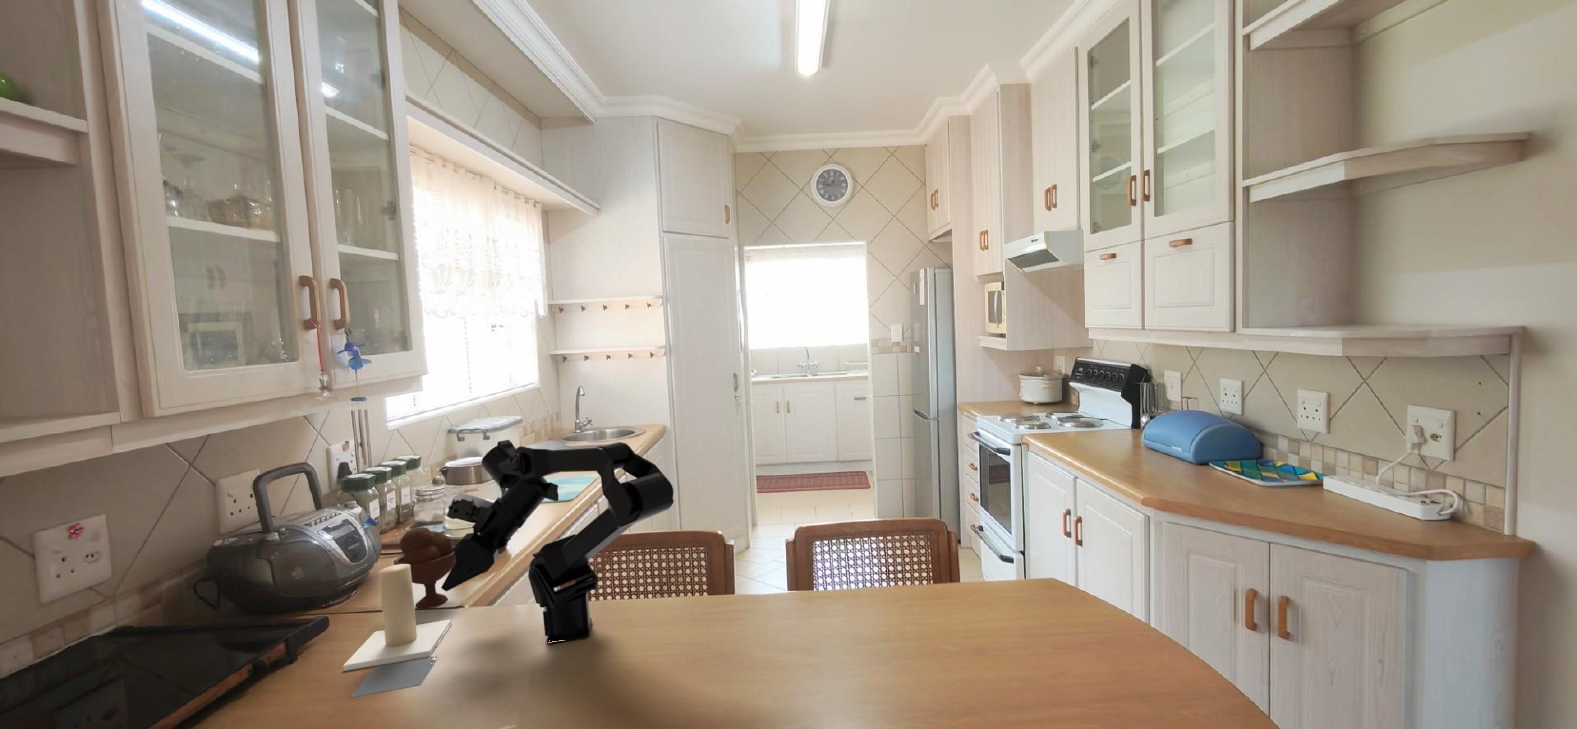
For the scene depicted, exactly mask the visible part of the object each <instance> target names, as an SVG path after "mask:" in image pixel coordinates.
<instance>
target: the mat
mask: <svg viewBox="0 0 1577 729" xmlns="http://www.w3.org/2000/svg"><path fill="white" fill-rule="evenodd" d="M435 656H436V657H435V658H437V656H438V655H435ZM429 658H430V659H429ZM432 658H434V656H428V657H422V658H416V659H411V660H405V661H399V662H393V663H387V664H381V665H376V666H374V668H373V669H372V670H371V671H370V672H369V674H367V676H366V677H365V679H363V681H361V683H360V684H359V685H358V686H357V688H356V689H355V691H354V692H353V693H352V694H351V695H350V696H349V699H351V698H352V699H353V698H356V697H363V696H368V695H373V694H374V695H375V694H380V693H385V692H386V693H387V692H391V691H397V690H401V689H407V688H413V687H418V686H419V687H420V686H421V685H422V684H423V682H424V681H425V679H426V677H427V676H428V674H429V673H430V672H431V670H432V669H433V667H434V665H435V664H433V663H436V662H437V661H436V660H433V659H432ZM431 663H432V664H431Z"/></svg>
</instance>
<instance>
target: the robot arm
mask: <svg viewBox="0 0 1577 729" xmlns="http://www.w3.org/2000/svg"><path fill="white" fill-rule="evenodd" d="M481 466H482V468H483V469H484V471H486V472H487V474H488V475H489V476H490V477H491V478H492V479H493V480H494V482H495V483H496V484H497V485H498V486H499V488H500V489H505V490H506V491H505V492H504V493H503V494H502V495H501V496H500V497H497V498H496V499H495V501H494V502H493V501H489V500H487V499H484V498H481V497H478V496H473V495H471V494H467V493H463V492H458V493H457V494H456V495H455V496H454V497H453V498H452V501H451V503H450V505H448V508H447V509H448V511H447V514H446V517H447V518H449V519H452V520H455V519H457V520H461V521H464V522H467V523H471V524H473V525H472V526H471V528H472V529H473V530H472V531H473V532H469V533H466V534H465V535H464V536H463V537H462V539H461V540H460V541H459V542H458V543H457V544H456V545H454V546H455V547H454V549H453V553H454V555H455V558H456V562H455V564H454V566H453V568H452V569H451V570H450V571H449V572H448V575H447V576H446V577H445V578H446V579H445V580H444V582H443V583H442V585H441V590H443V591H444V592H449V591H450V590H452V589H455V588H456V587H458V586H460V585H462V584H464V583H465V582H468V581H470V580H471V579H474V578H476V577H478V576H480V575H482V574H484V573H487V572H488V571H489V570H490V569H491V568H492V567H493V566H494V565H495V562H496V561H497V560H498V559H499V556H500V555H499V550H500V549H503V548H505V546H506V545H507V544H508V542H509V541H510V539H511V538H512V537H513V536H514V534H516V532H517V531H518V530H519V529H521V528H522V527H523V525H524V524H525V523H526V521H527V520H528V519H529V517H530V516H532V514H533V513H534V512H535V510H536V509H537V508H538V507H539V506H540V505H541V503H542V502H543V501H544V500H545V499H546V500H550V501H553V502H558V501H559V493H558V492H559V491H558V489H559V485H558V484H556V483H553V482H549V481H548V480H547V479H546V478H545V477H547V476H550V475H555V474H558V473H569V472H570V473H572V472H573V473H576V472H581V473H582V472H596V473H597V475H598V476H600V481H601V482H600V483H601V490H602V494H603V496H604V498H606V500H607V508H606V509H605V510H604V511H602V512H601V513H599V515H598V516H597V517H595V518H594V519H593V520H592V521H590V523H588V524H586V526H585V527H583V529H581V530H580V531H579V532H577V533H574V534H570V535H568V536H565V537H562V538H560V539H557V540H554V541H551V542H548V543H546V544H544V545H543V546H541V548H540V549H539V551H537V552H535V553H532V557H533V558H532V560H531V561H530V563H529V569H528V575H527V577H528V580H529V584H530V587H531V590H532V594H533V596H534V597H533V598H534V600H535V603H536V604H538V605H539V608H543V610H542V618H543V628H544V629H543V630H544V636H545V637H547V639H546V643H547V642H552V641H559V640H568V641H573V640H572V639H574V640H578V639H585V638H589V637H590V636H591V629H592V623H593V620H592V619H593V618H592V617H591V616H590V615H591V613H590V604H589V603H590V602H589V592H591V591H592V590H593V591H594V590H595V589H596V590H597V588H598V581H599V578H598V576H597V574H596V573H595V571H594V570H593V568H592V567H591V565H590V560H591V559H592V558H593V557H594V556H595V555H597V554H598V553H599V552H601V551H602V550H603V549H604V548H606V547H607V546H608V545H610V543H611V542H614V540H616V538H618V537H620V536H621V535H622V534H623V533H624V532H626V531H627V530H628V529H630V528H631V527H632V526H634V525H635V524H637V523H639V522H641V521H644V520H647V519H650V518H652V517H654V516H656V515H658V514H660V513H662V512H666V511H667V510H669V509H670V508H671V507H672V506H673V504H674V502H675V501H674V487H673V484H672V483H671V482H670V480H669V479H668V478H667V477H666V476H665V474H663V472H662V471H661V470H660V469H659V467H657V465H656V464H654V463H653V462H651V461H650V460H648V459H646V458H645V457H642V456H641V455H639V454H638V453H636V452H635V451H634V450H633V449H632V448H631V446H630V445H629V444H628V443H627V442H622V441H615V442H613V443H605V444H604V443H603V444H590V445H589V444H586V445H567V444H566V443H565V442H563V441H558V440H554V439H551V440H545V441H541V442H535V443H530V444H525V445H521V446H517V447H515V446H514V444H513V442H511V440H510V439H504V440H499V441H497V444H496V446H495V447H493V448H491V449H490V450H489V451H488V452H486V454H485V455H484V456H483V457H482V459H481ZM619 469H620V470H621V469H622V470H623V471H624V472H625V473H627V474H629V475H631V476H632V477H634V479H631V480H627V481H624V482H620V480H619V479H618V478H617V477H616V473H615V471H616V470H619ZM572 581H574V582H572ZM571 582H572V583H571ZM568 583H571V584H568ZM566 584H567V585H566ZM564 585H566V586H564ZM561 586H564V587H561ZM559 587H561V588H559ZM556 588H558V589H556ZM555 589H556V590H555ZM589 635H590V636H589ZM549 640H550V641H549Z"/></svg>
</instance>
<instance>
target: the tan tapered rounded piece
mask: <svg viewBox="0 0 1577 729" xmlns="http://www.w3.org/2000/svg"><path fill="white" fill-rule="evenodd" d="M378 578H379V587H380V589H379V590H380V597H381V598H380V601H381V609H382V619H383V620H382V621H383V630H384V632H385V643H386V646H387V647H398V646H402V645H406V644H408V643H410V642H412V641H414V640H415V639H416V638H417V631H416V625H417V622H416V613H415V601H414V591H413V583H412V578H411V567H410V564H399V565H390V566H388V567H384V568H382V569H380V570H379V571H378Z"/></svg>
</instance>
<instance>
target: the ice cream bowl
mask: <svg viewBox="0 0 1577 729" xmlns="http://www.w3.org/2000/svg"><path fill="white" fill-rule="evenodd" d="M398 545H399V549H400V551H401V552H402V555H401V556H399V557H398V558H396V559H394V560H393V564H394V565H399V564H410V567H411V578H412V584H417V585H423V586H424V589H425V595H424V596H423V597H421V599H419V600H418V601H417V602H416V603H415V605H414V608H416V610H427V609H432V608H436V607H439V606H441V605H443V604H445V603H447V601H448V600H449V599H448V597H447V596H446V594H442V593H438V592H437V590H436V588H437V587H436V584H437V582H439V580H442V579H443V578H444V577H445V576H446V575H447V574H449V573H450V571H451V569H452V568H453V566H454V564H455V562H456V558H455V555H454V553H453V549H454V547H455V546H456V545H453V544H452V539H451V538H450V537H449V536H447V535H446V534H443V532H440V531H435V530H430V529H429V528H427V527H424V526H423V527H415V528H411V529H409V530H408V531H406V532H405V533H404V534H403V536H402V537H401V539H400V541H399V544H398Z"/></svg>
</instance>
